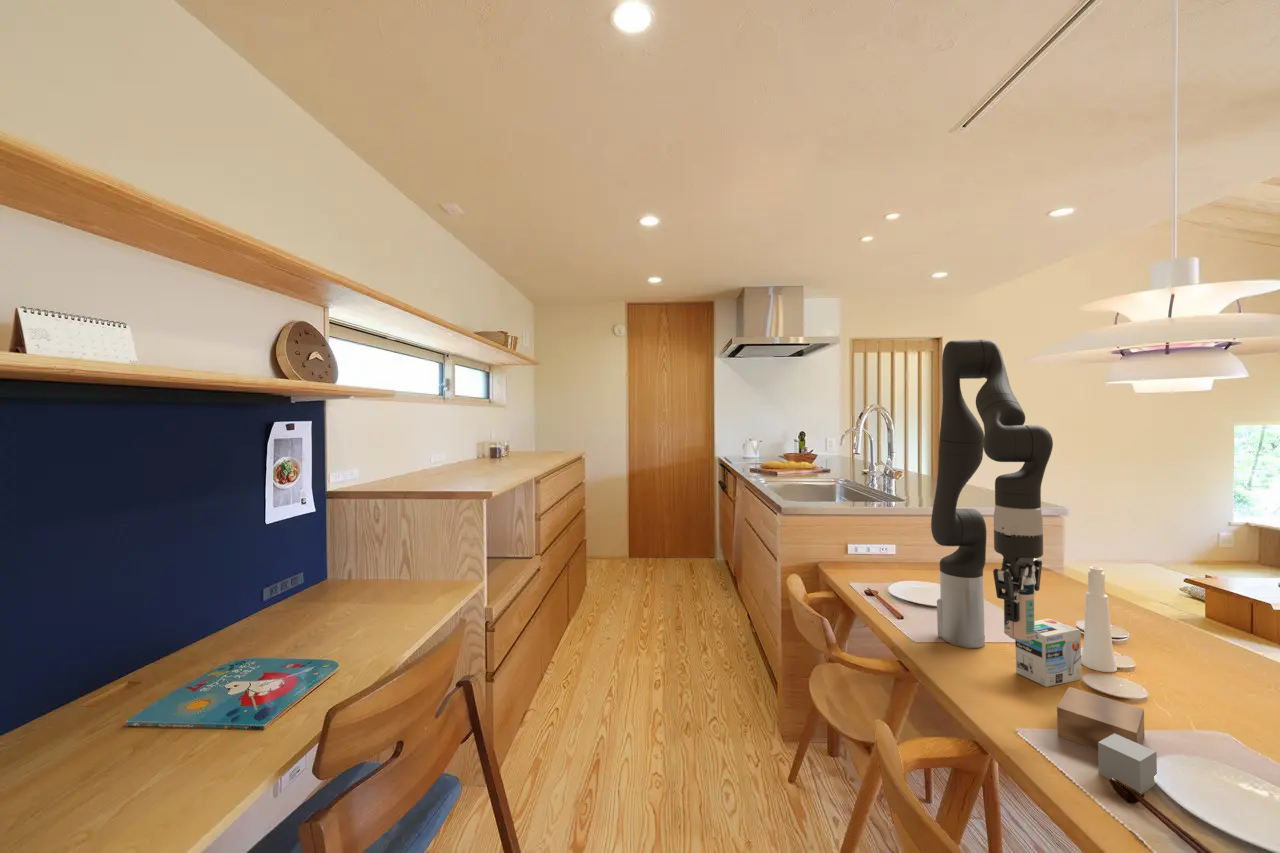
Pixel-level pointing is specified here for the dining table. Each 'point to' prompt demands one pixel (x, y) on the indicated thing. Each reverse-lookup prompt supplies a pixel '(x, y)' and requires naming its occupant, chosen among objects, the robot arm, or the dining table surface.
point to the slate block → (1127, 762)
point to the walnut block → (1097, 718)
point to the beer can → (1023, 615)
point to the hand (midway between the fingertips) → (1018, 616)
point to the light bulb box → (1050, 654)
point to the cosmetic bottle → (1097, 625)
